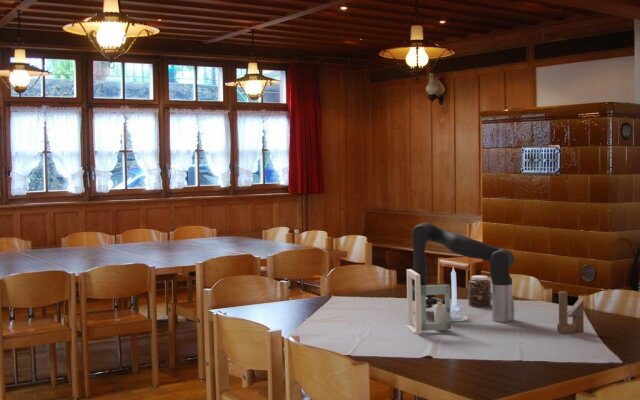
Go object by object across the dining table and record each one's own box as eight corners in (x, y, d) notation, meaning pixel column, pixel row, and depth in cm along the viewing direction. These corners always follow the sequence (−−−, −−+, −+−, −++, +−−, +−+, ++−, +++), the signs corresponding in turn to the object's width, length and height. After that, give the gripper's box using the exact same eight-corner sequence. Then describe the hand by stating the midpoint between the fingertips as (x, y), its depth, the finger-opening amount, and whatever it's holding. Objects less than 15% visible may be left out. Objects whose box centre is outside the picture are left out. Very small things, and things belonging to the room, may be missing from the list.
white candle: (444, 328, 355) (443, 300, 354) (447, 330, 350) (447, 302, 349) (433, 328, 355) (432, 300, 354) (436, 331, 349) (435, 302, 349)
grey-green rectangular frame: (422, 331, 344) (422, 286, 343) (421, 330, 347) (420, 285, 346) (451, 329, 346) (450, 285, 345) (449, 328, 349) (449, 284, 347)
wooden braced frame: (583, 332, 340) (583, 291, 339) (561, 334, 338) (561, 292, 337) (579, 330, 344) (579, 290, 343) (557, 332, 342) (556, 291, 341)
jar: (494, 304, 407) (494, 275, 406) (486, 308, 397) (486, 278, 396) (473, 302, 413) (472, 274, 413) (464, 306, 404) (464, 277, 403)
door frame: (414, 325, 362) (412, 268, 360) (423, 334, 344) (422, 274, 342) (405, 326, 361) (404, 269, 360) (414, 334, 344) (413, 275, 342)
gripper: (411, 291, 378) (419, 297, 362) (440, 290, 380) (449, 296, 364) (411, 307, 378) (419, 313, 362) (440, 305, 380) (449, 312, 364)
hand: (434, 304), depth 363 cm, fingers open, 8 cm apart
